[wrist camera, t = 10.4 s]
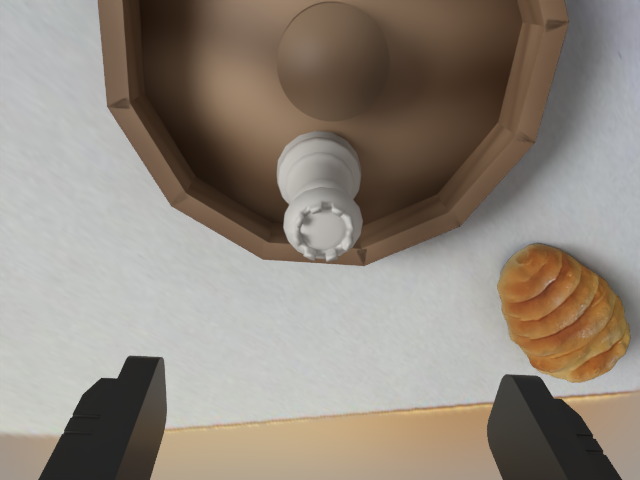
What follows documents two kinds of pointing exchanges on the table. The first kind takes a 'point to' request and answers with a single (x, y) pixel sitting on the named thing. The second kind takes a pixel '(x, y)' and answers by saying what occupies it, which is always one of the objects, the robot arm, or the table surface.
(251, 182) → the ring tray
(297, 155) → the rook chess piece
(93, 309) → the table surface
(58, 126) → the table surface
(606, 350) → the pastry
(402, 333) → the table surface
